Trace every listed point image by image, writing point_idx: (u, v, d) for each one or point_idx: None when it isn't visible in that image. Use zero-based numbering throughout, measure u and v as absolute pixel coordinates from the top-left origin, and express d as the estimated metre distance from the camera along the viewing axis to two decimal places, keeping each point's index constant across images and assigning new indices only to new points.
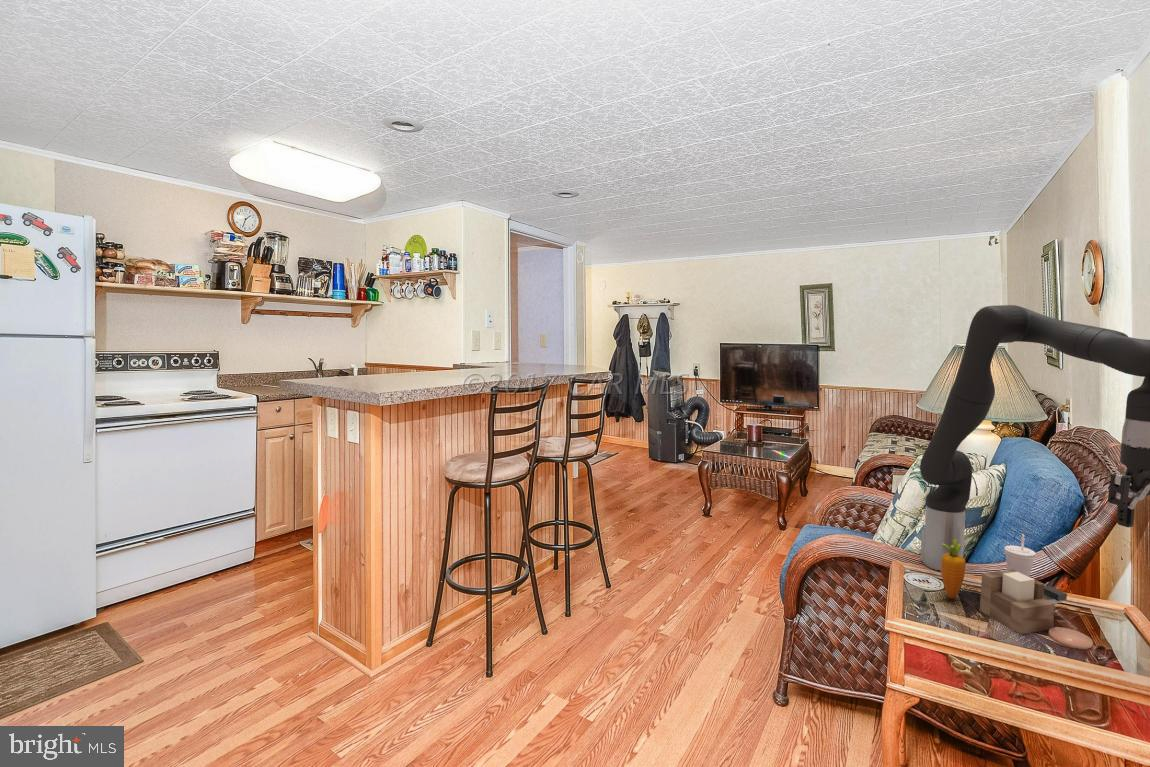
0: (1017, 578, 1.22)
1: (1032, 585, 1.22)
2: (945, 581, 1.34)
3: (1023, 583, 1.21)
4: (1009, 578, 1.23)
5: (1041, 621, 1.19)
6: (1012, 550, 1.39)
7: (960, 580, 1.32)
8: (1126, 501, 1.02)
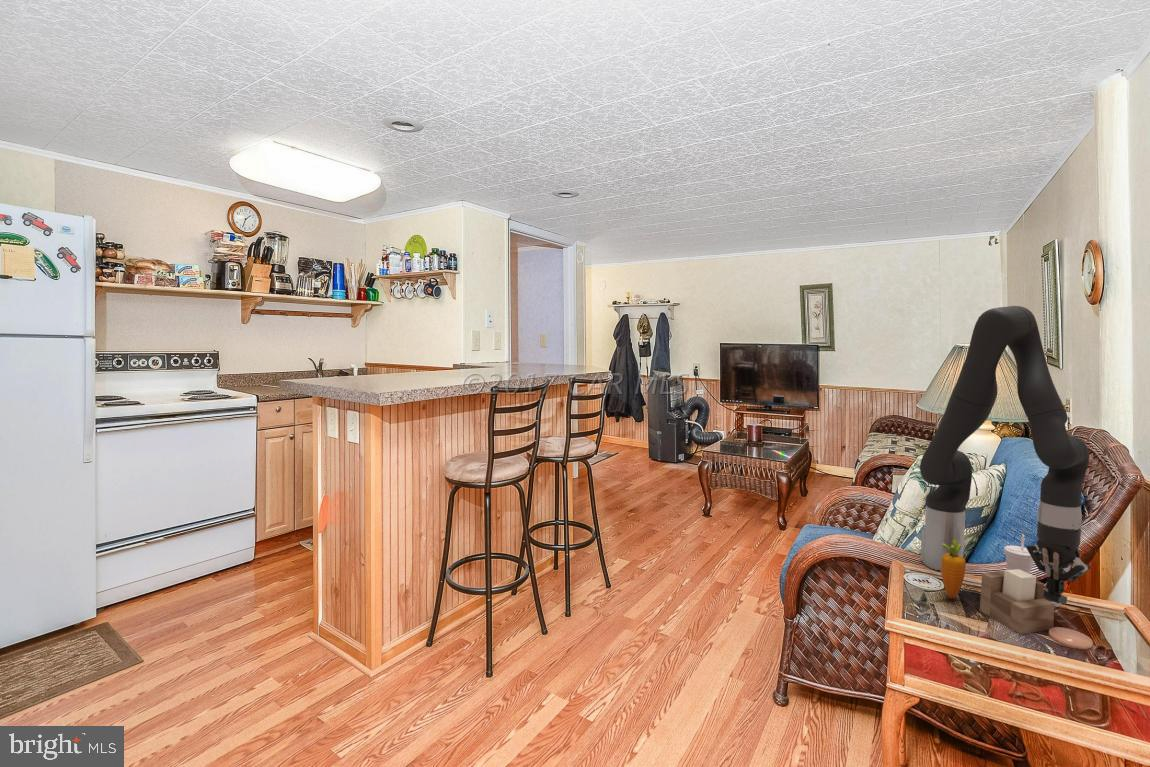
0: (1019, 575, 1.22)
1: (1034, 582, 1.22)
2: (945, 581, 1.34)
3: (1024, 580, 1.21)
4: (1011, 575, 1.23)
5: (1041, 621, 1.19)
6: (1012, 550, 1.39)
7: (960, 580, 1.32)
8: None
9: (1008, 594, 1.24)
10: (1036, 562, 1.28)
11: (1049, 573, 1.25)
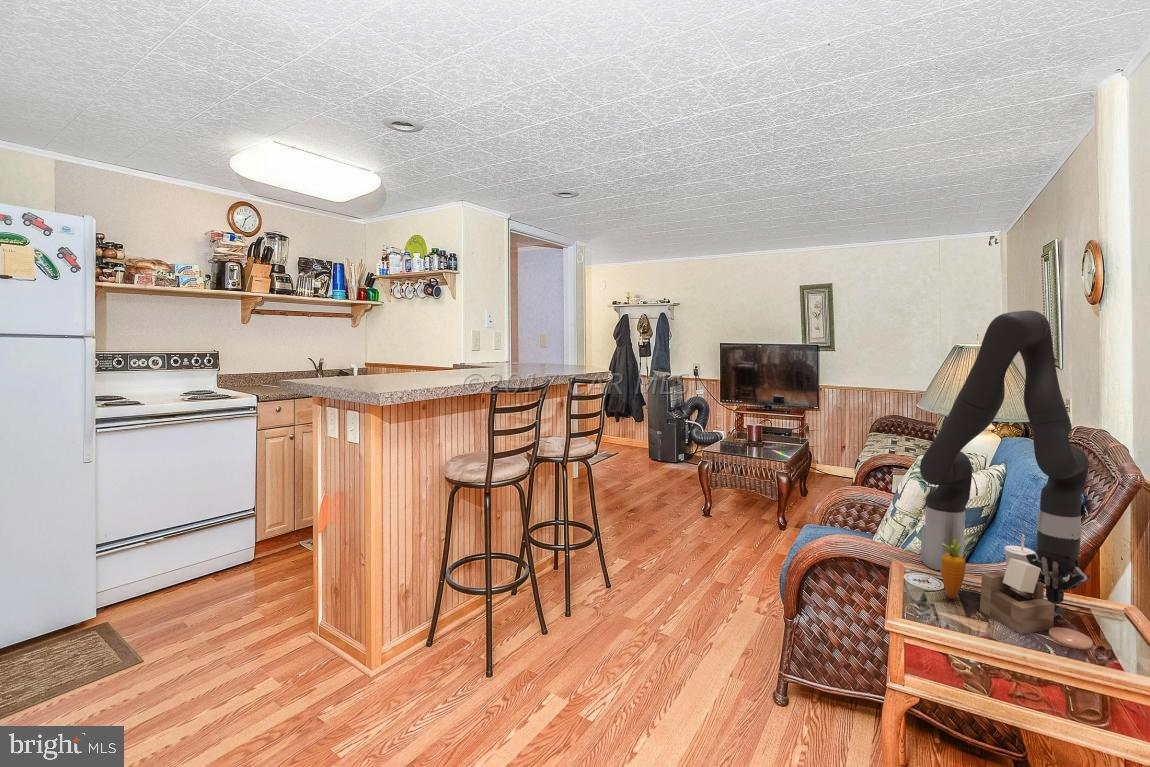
0: (1024, 563, 1.22)
1: (1037, 573, 1.22)
2: (945, 581, 1.34)
3: (1029, 568, 1.21)
4: (1016, 562, 1.23)
5: (1041, 621, 1.19)
6: (1012, 550, 1.39)
7: (960, 580, 1.32)
8: None
9: (1009, 582, 1.24)
10: None
11: (1048, 582, 1.25)
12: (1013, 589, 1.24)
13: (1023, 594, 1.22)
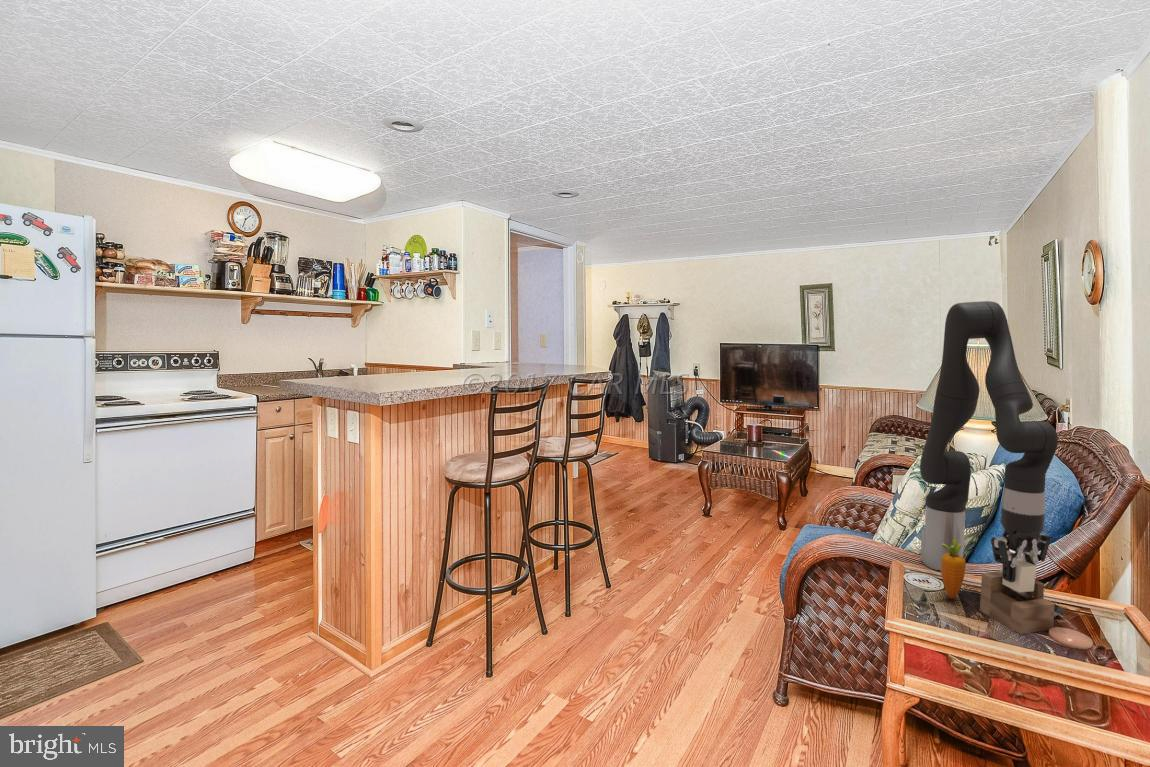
0: (1019, 564, 1.22)
1: (1034, 571, 1.21)
2: (945, 581, 1.34)
3: (1024, 569, 1.21)
4: None
5: (1041, 621, 1.19)
6: (1012, 550, 1.39)
7: (960, 580, 1.32)
8: None
9: (1008, 583, 1.24)
10: (1005, 557, 1.21)
11: (1014, 563, 1.21)
12: None
13: (1023, 594, 1.22)
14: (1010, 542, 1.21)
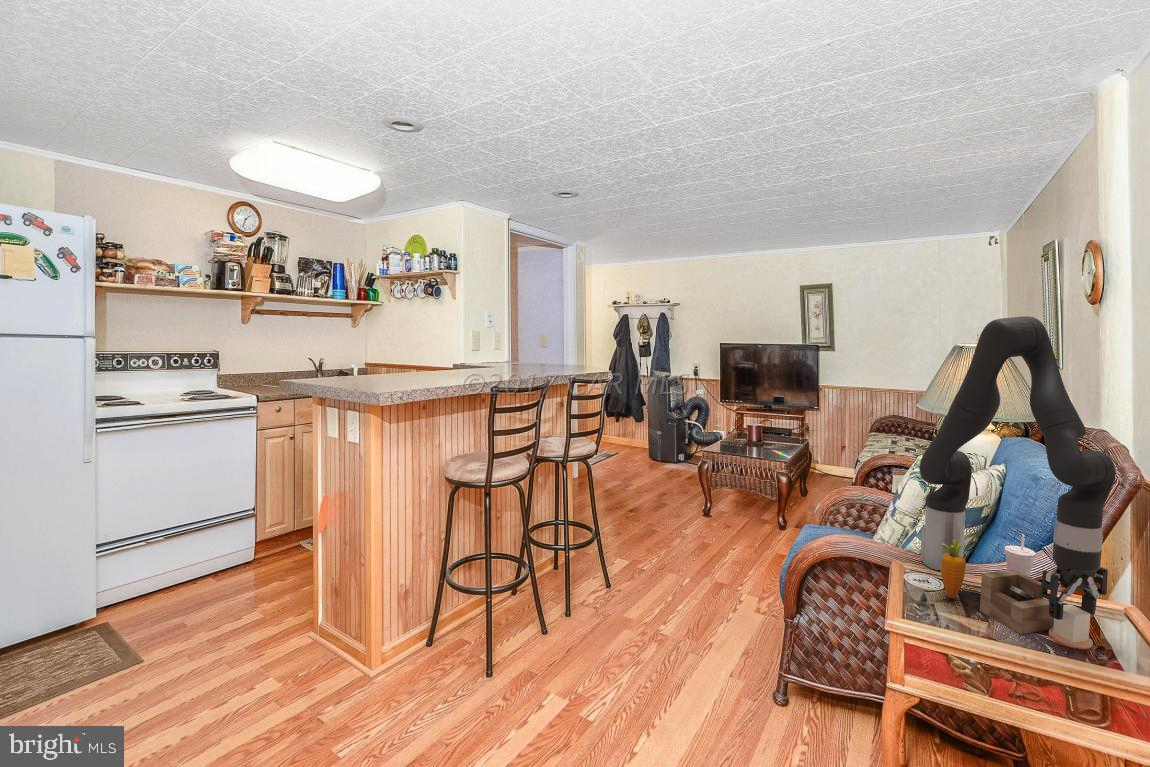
0: (1071, 612, 1.14)
1: (1088, 620, 1.14)
2: (945, 581, 1.34)
3: (1078, 618, 1.13)
4: None
5: (1041, 621, 1.19)
6: (1012, 550, 1.39)
7: (960, 580, 1.32)
8: None
9: (1060, 632, 1.16)
10: (1054, 593, 1.13)
11: (1062, 599, 1.13)
12: (1013, 589, 1.24)
13: (1023, 594, 1.22)
14: (1064, 576, 1.13)
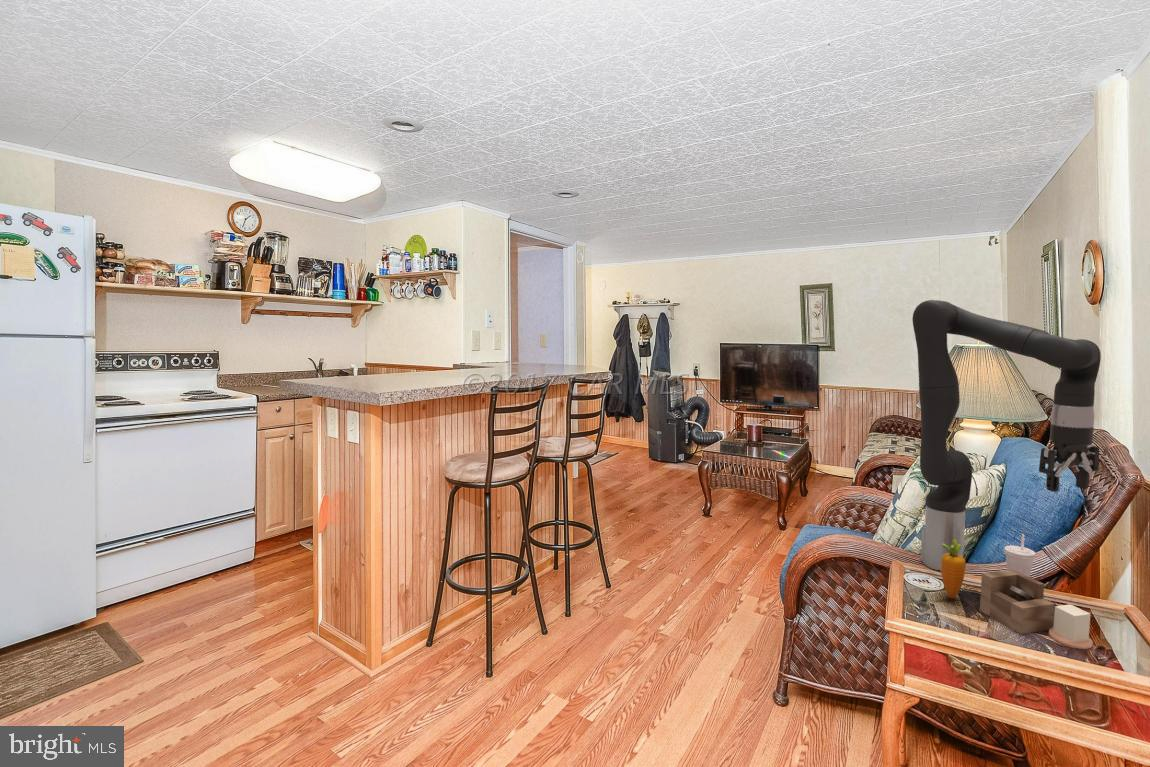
0: (1071, 612, 1.14)
1: (1088, 620, 1.14)
2: (945, 581, 1.34)
3: (1078, 618, 1.13)
4: (1062, 612, 1.16)
5: (1041, 621, 1.19)
6: (1012, 550, 1.39)
7: (960, 580, 1.32)
8: None
9: (1060, 632, 1.16)
10: (1051, 466, 1.26)
11: (1058, 472, 1.27)
12: (1013, 589, 1.24)
13: (1023, 594, 1.22)
14: (1060, 452, 1.27)
